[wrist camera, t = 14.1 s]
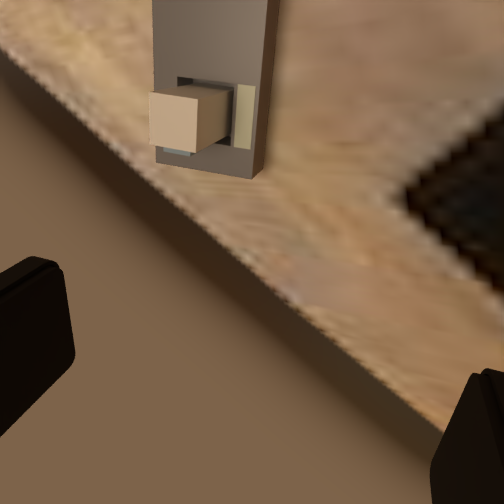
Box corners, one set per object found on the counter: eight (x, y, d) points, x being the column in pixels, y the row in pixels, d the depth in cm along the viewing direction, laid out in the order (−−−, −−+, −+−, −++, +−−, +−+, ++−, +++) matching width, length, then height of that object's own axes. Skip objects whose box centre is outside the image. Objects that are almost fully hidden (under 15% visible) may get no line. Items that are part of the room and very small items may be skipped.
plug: (239, 88, 39) (197, 99, 30) (235, 137, 41) (195, 160, 32) (200, 82, 40) (149, 91, 31) (198, 130, 42) (149, 151, 33)
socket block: (293, -141, 31) (281, -165, 27) (262, 168, 42) (251, 179, 39) (173, -141, 33) (147, -164, 30) (173, 153, 44) (155, 162, 41)
